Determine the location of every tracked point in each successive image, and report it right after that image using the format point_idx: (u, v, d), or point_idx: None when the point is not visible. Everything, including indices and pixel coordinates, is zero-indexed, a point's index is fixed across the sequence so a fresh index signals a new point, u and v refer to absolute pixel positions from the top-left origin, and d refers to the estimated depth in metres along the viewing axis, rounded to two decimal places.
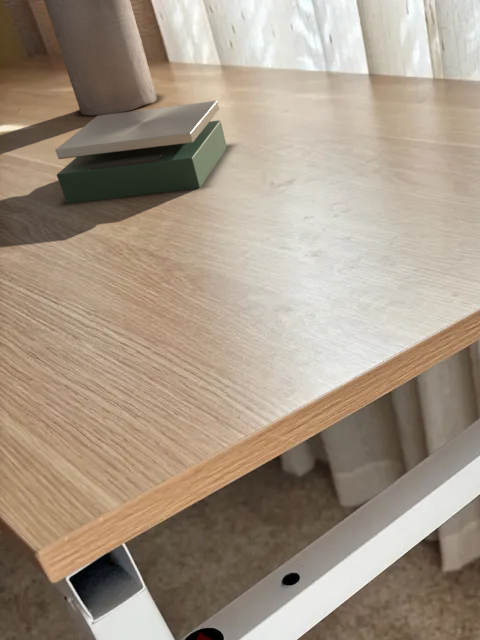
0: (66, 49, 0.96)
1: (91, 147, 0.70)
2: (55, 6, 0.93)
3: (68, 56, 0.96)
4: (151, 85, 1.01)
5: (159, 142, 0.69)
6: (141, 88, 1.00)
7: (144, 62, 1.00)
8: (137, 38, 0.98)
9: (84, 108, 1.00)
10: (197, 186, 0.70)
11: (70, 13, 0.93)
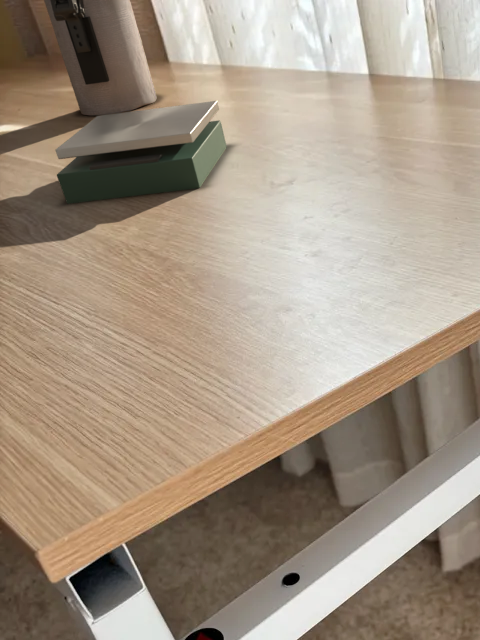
0: (66, 49, 0.96)
1: (91, 147, 0.70)
2: None
3: (68, 56, 0.96)
4: (151, 85, 1.01)
5: (159, 142, 0.69)
6: (141, 88, 1.00)
7: (144, 62, 1.00)
8: (137, 38, 0.98)
9: (84, 108, 1.00)
10: (197, 186, 0.70)
11: None
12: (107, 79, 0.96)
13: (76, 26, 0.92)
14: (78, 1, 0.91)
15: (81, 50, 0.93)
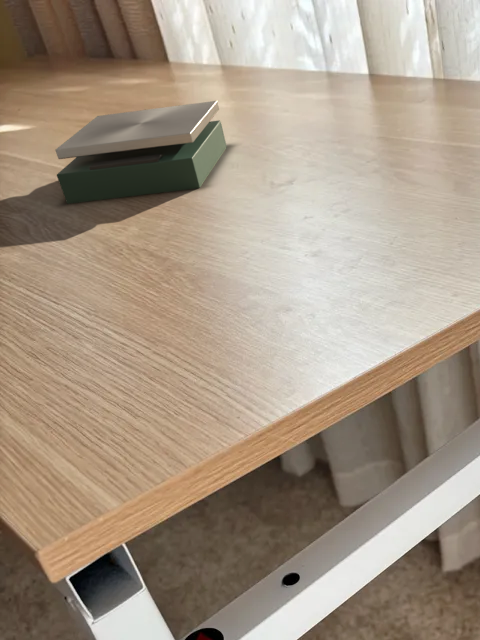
0: None
1: (91, 147, 0.70)
2: None
3: None
4: None
5: (159, 142, 0.69)
6: None
7: None
8: None
9: None
10: (197, 186, 0.70)
11: None
12: None
13: None
14: None
15: None
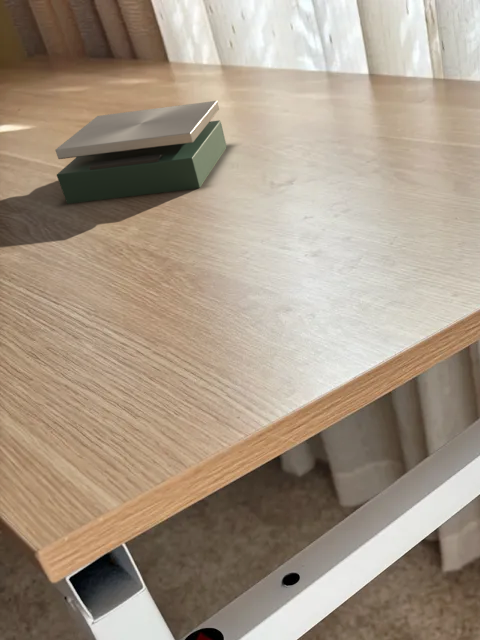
0: None
1: (91, 147, 0.70)
2: None
3: None
4: None
5: (159, 142, 0.69)
6: None
7: None
8: None
9: None
10: (197, 186, 0.70)
11: None
12: None
13: None
14: None
15: None
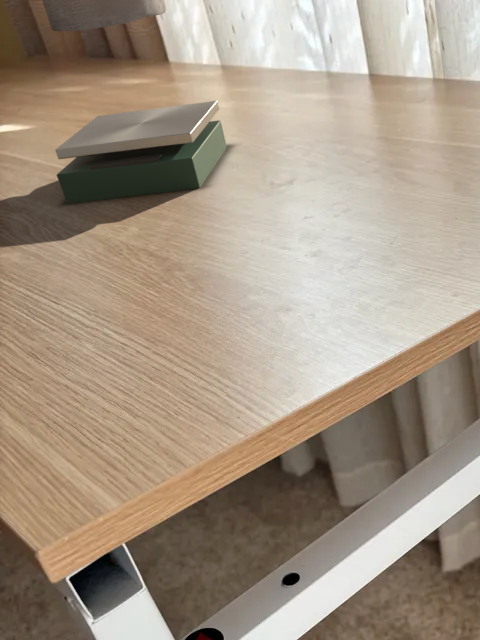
0: None
1: (91, 147, 0.70)
2: None
3: None
4: None
5: (159, 142, 0.69)
6: None
7: None
8: None
9: (55, 20, 0.66)
10: (197, 186, 0.70)
11: None
12: None
13: None
14: None
15: None
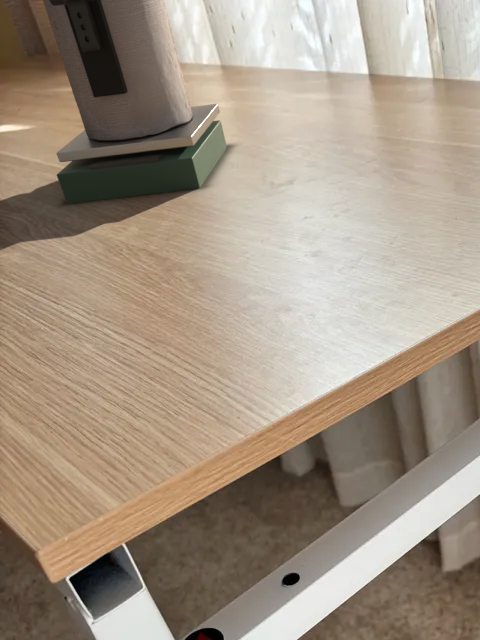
0: (67, 46, 0.67)
1: (92, 150, 0.70)
2: None
3: (70, 56, 0.67)
4: (186, 98, 0.72)
5: (160, 145, 0.69)
6: (173, 101, 0.71)
7: (177, 65, 0.71)
8: (168, 31, 0.69)
9: (91, 130, 0.71)
10: (197, 186, 0.70)
11: None
12: (124, 90, 0.67)
13: (81, 13, 0.63)
14: None
15: (88, 48, 0.64)
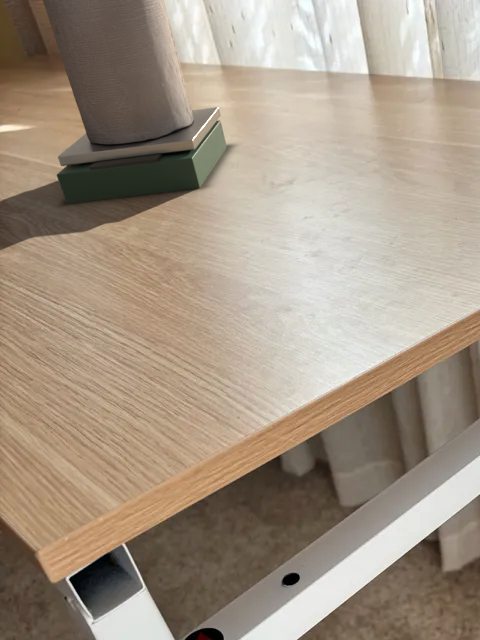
0: (68, 51, 0.67)
1: (93, 154, 0.70)
2: None
3: (71, 61, 0.67)
4: (187, 102, 0.73)
5: (161, 149, 0.70)
6: (174, 105, 0.71)
7: (178, 69, 0.71)
8: (169, 36, 0.69)
9: (93, 134, 0.71)
10: (197, 186, 0.70)
11: None
12: None
13: None
14: None
15: None
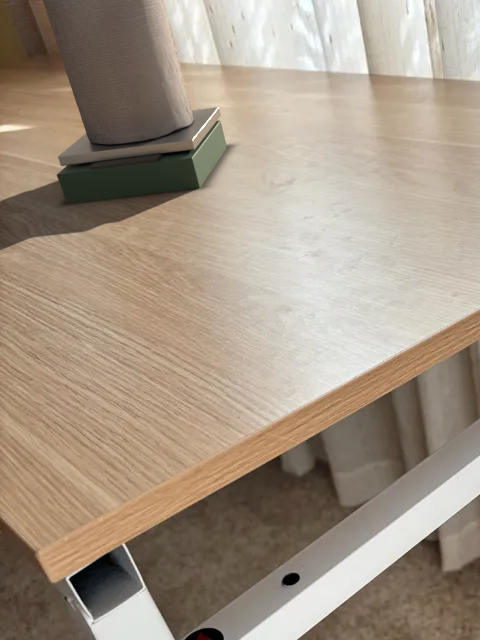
0: (68, 51, 0.67)
1: (93, 154, 0.70)
2: None
3: (71, 61, 0.67)
4: (187, 102, 0.73)
5: (161, 149, 0.70)
6: (174, 105, 0.71)
7: (178, 69, 0.71)
8: (169, 36, 0.69)
9: (93, 134, 0.71)
10: (197, 186, 0.70)
11: None
12: None
13: None
14: None
15: None
